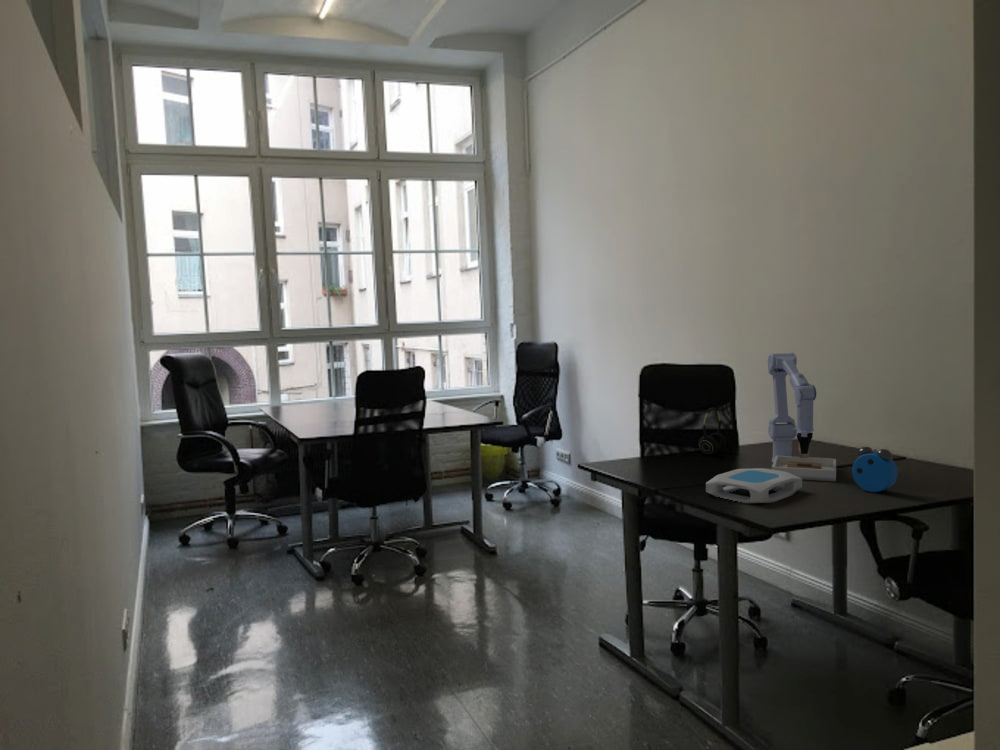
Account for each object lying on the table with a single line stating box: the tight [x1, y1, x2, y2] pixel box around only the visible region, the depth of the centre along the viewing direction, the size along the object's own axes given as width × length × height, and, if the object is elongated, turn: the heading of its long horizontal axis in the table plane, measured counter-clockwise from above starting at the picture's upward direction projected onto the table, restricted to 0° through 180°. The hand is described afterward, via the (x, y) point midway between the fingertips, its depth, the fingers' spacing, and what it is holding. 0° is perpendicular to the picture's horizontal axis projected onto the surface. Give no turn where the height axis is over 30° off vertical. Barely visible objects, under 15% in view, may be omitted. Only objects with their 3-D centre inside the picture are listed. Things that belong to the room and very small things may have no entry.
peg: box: [798, 443, 810, 458], centre depth 297 cm, size 4×4×7 cm
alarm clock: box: [851, 446, 899, 493], centre depth 268 cm, size 13×6×15 cm, turn 38°
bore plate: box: [787, 461, 822, 469], centre depth 298 cm, size 12×12×2 cm
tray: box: [771, 456, 837, 482], centre depth 298 cm, size 22×22×4 cm
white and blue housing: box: [705, 467, 803, 504], centre depth 270 cm, size 21×28×6 cm
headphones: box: [698, 407, 727, 455], centre depth 338 cm, size 9×15×20 cm, turn 138°
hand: (804, 452), depth 297 cm, fingers closed on peg, 4 cm apart
